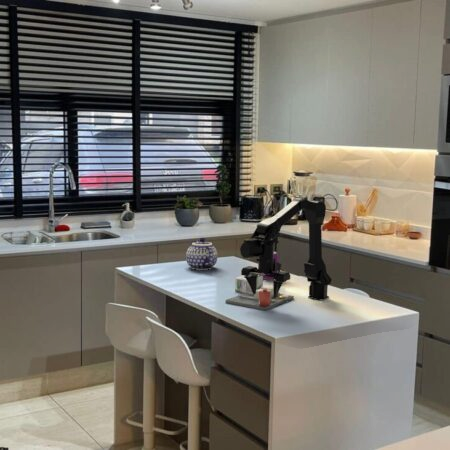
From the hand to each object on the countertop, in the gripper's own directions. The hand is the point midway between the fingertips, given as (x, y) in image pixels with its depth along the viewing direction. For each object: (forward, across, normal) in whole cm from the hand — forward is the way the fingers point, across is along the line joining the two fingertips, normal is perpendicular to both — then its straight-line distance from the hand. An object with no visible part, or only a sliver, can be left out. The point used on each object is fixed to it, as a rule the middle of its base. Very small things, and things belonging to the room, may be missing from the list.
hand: (264, 295), depth 267 cm
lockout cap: (+3, 0, 0) cm, 3 cm away
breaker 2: (+3, +6, -13) cm, 15 cm away
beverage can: (+5, +24, -44) cm, 51 cm away
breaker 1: (+3, +4, -6) cm, 8 cm away
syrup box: (+2, +21, -29) cm, 36 cm away
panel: (+5, +6, -7) cm, 11 cm away
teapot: (+5, +62, -43) cm, 75 cm away
